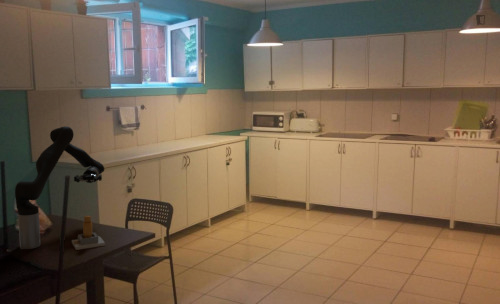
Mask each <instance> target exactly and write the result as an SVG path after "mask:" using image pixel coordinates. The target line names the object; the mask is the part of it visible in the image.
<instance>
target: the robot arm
mask: <svg viewBox="0 0 500 304" xmlns="http://www.w3.org/2000/svg"><path fill="white" fill-rule="evenodd" d="M74 136H75V135H74V131H73V128H71V127H70V126H61V127H58V128H55V129H52V130H51V131H50V133H49V137H50V141H52V143H51V144H50V145H49V146H48V147H46V148H45V149H44V150H43V151H42V152H41V153H40V155H39V157H38V158H37V159H36V163H35V169H36V172H37V175H36V176H35V179H34V180H33V181H29V180H28V181H18V182H17V183H16V185H15V188H14V195H15V196H14V197H15V198H14V199H15V204H16V209H17V216H18V235H19V237H18V238H19V248H20V250H33V249H37V248H39V247H40V246H41V232H40V231H41V230H40V229H41V228H40V211H39V207H38V206H37V205H35V204H33V203H31V201H36V200H38V199H39V197H41V195H42V193H43V191H44V188H45V186H46V184H47V181H48V179H49V177H50V176H51V173H52V172H53V170H54V169H55V167H56V165H57V164H58V162H59V160H60V158H61V157H62V155H63V153H64V152H66V153H67V154H69V156H71V157H73V159H75V160H76V161H77V162H78V164H80V165H81V166H82V167H83V168H86V170H85V171H84V172H83V174H81V175H79V174H76V175H75V176H74V177H73V182H76V183H80V182H85V183H87V184H92V183H96V182H98V181H100V182H101V181H102V180H103V175H102V173H103V172H104V171H105V166H104V165H103V163H101V162H100V161H98V160H95V159H94V158H93V157H91V155H90V154H89V153H87V152H86V151H85V150H84V149H82V148H80V147H78V146H76V145H73V144H72V143H71V142H72V141H73V139H74Z"/></svg>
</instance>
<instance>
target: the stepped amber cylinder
mask: <svg viewBox="0 0 500 304" xmlns="http://www.w3.org/2000/svg"><path fill="white" fill-rule="evenodd" d="M82 228H83V229H82V230H83V231H82V232H83V233H82V234H83V237H84V238H88V237H93V233H94V232H93V221H92V216H91V215H85V216H84V217H83V222H82Z"/></svg>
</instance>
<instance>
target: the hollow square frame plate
mask: <svg viewBox="0 0 500 304" xmlns="http://www.w3.org/2000/svg"><path fill="white" fill-rule="evenodd" d="M92 233H93V237H88V238H84V237H83V233H79V234H77V239H71V244H72V246H73V247H74V249H75V250H76V251H77V250H78V251H79V250H84V249H91V248H97V247H104V246H106V242H105V241H104V240H103V238H102V237H101V236H99V235H98V234H97V233H96V232H94V231H93V232H92Z"/></svg>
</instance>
